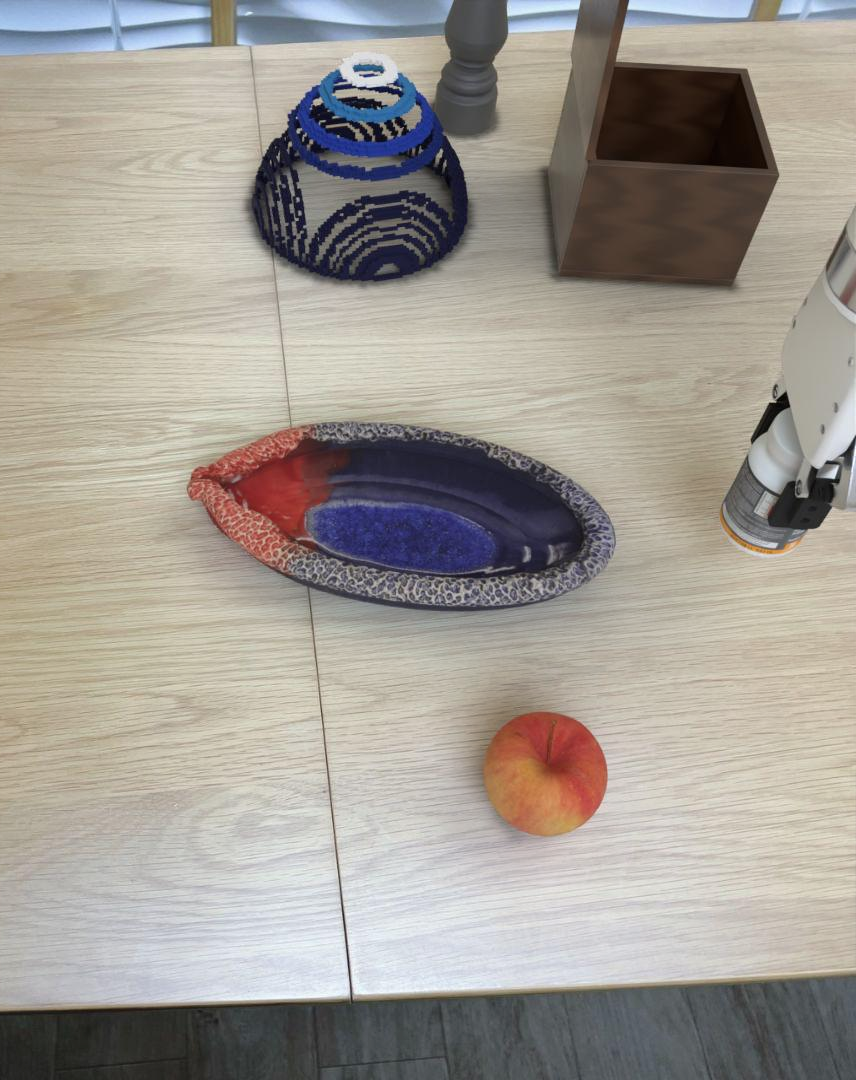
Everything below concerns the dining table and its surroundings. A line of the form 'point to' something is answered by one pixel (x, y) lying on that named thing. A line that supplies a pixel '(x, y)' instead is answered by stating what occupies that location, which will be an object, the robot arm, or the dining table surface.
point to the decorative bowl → (363, 173)
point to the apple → (545, 773)
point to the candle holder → (471, 65)
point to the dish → (407, 516)
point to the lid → (595, 62)
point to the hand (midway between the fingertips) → (783, 482)
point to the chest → (662, 177)
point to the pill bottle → (765, 491)
